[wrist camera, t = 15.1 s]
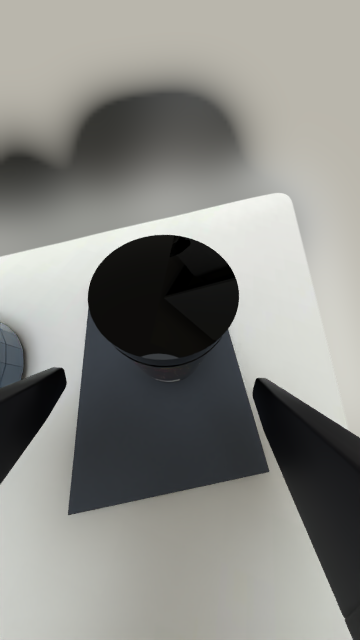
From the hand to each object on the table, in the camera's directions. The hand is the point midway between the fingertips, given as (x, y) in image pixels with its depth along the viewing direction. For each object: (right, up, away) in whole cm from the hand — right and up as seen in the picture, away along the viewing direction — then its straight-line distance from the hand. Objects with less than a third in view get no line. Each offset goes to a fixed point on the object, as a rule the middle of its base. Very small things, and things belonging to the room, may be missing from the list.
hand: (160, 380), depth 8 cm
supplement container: (0, 0, +9) cm, 9 cm away
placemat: (-1, -1, +9) cm, 9 cm away
